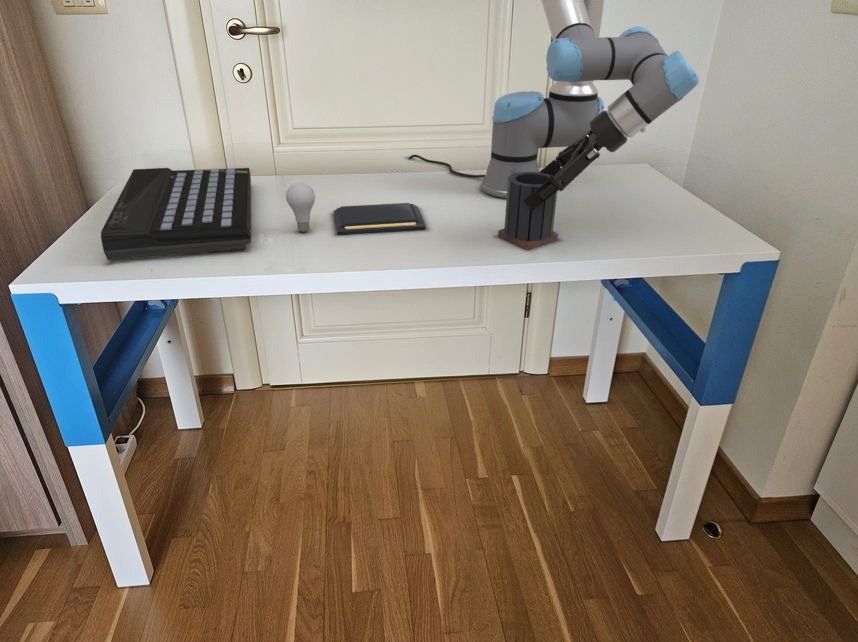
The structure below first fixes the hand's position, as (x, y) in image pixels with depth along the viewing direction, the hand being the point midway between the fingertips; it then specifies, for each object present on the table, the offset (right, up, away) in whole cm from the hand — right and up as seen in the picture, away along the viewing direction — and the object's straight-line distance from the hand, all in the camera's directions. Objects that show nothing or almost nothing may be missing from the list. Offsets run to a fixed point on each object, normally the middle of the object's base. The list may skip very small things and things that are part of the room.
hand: (531, 194), depth 136 cm
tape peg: (0, -8, +5) cm, 10 cm away
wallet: (-33, -3, +14) cm, 36 cm away
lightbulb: (-49, -7, +8) cm, 50 cm away
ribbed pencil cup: (0, -7, +4) cm, 8 cm away
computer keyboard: (-76, -3, +14) cm, 77 cm away
